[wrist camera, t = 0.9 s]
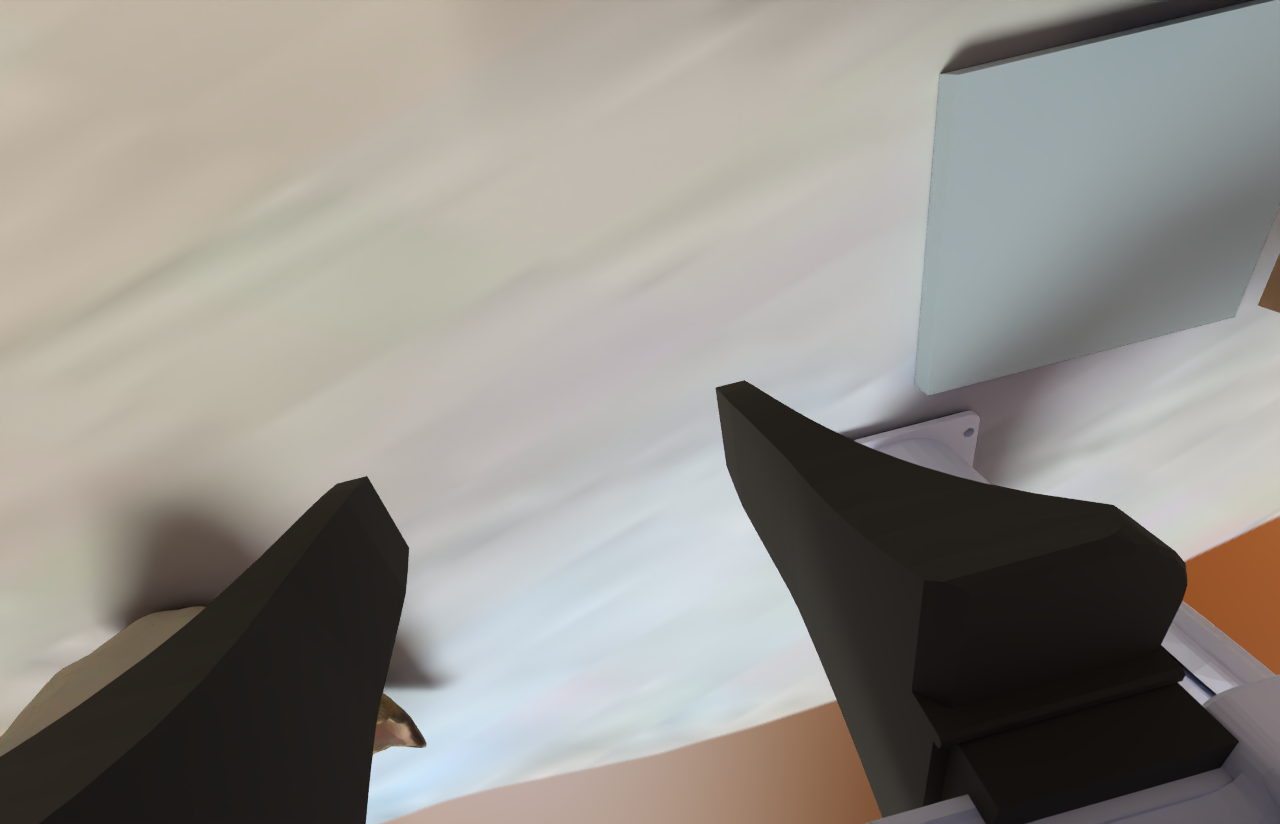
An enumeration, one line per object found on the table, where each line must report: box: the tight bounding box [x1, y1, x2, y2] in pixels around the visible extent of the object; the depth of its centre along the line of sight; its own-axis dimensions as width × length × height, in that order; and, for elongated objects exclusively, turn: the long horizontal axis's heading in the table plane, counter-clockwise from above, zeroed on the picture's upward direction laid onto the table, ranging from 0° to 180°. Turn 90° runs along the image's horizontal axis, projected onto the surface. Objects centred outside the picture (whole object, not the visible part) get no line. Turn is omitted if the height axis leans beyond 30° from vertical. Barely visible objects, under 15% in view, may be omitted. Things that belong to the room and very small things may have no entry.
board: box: [915, 0, 1280, 396], centre depth 22 cm, size 12×14×1 cm
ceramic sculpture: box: [0, 606, 426, 757], centre depth 25 cm, size 11×9×15 cm
